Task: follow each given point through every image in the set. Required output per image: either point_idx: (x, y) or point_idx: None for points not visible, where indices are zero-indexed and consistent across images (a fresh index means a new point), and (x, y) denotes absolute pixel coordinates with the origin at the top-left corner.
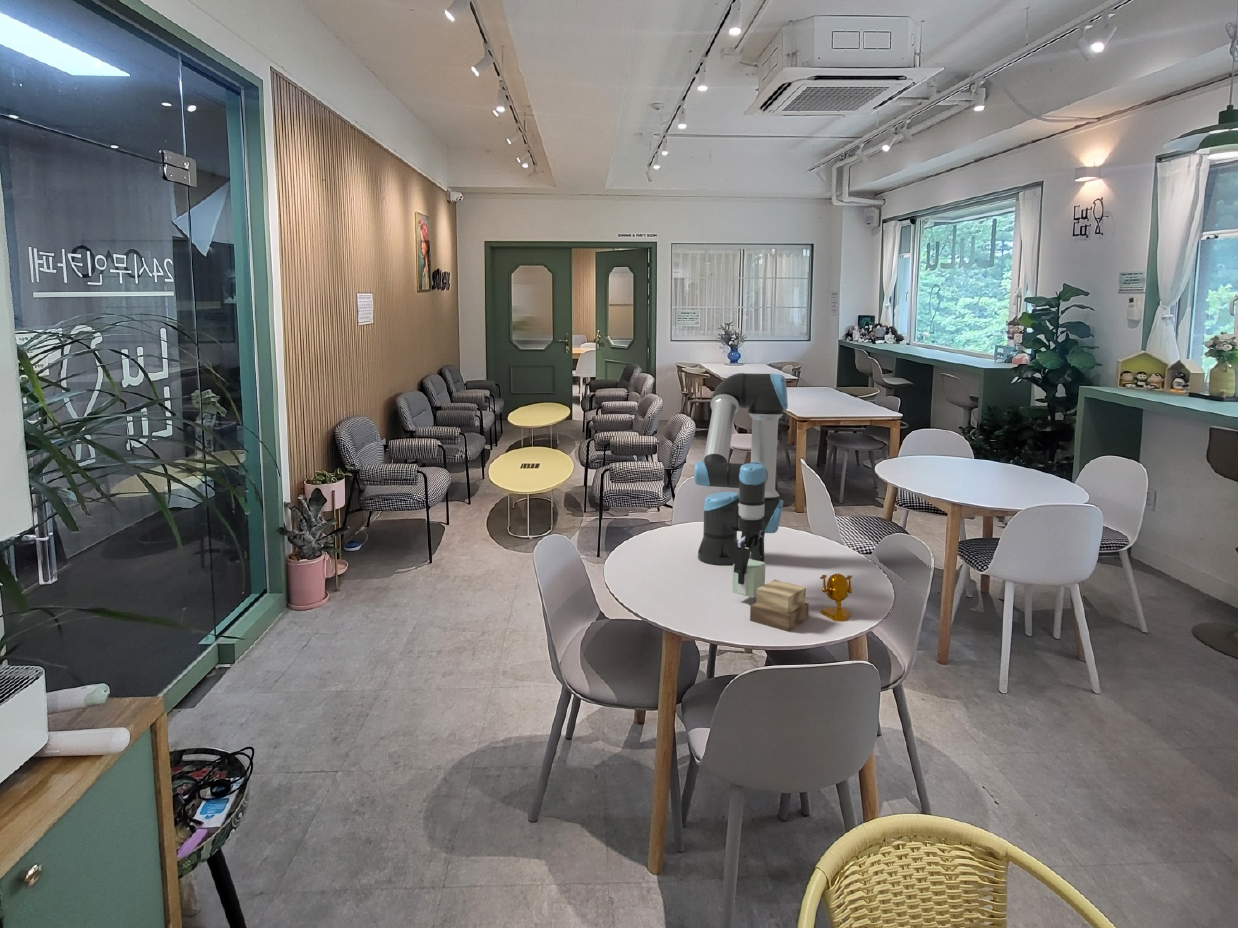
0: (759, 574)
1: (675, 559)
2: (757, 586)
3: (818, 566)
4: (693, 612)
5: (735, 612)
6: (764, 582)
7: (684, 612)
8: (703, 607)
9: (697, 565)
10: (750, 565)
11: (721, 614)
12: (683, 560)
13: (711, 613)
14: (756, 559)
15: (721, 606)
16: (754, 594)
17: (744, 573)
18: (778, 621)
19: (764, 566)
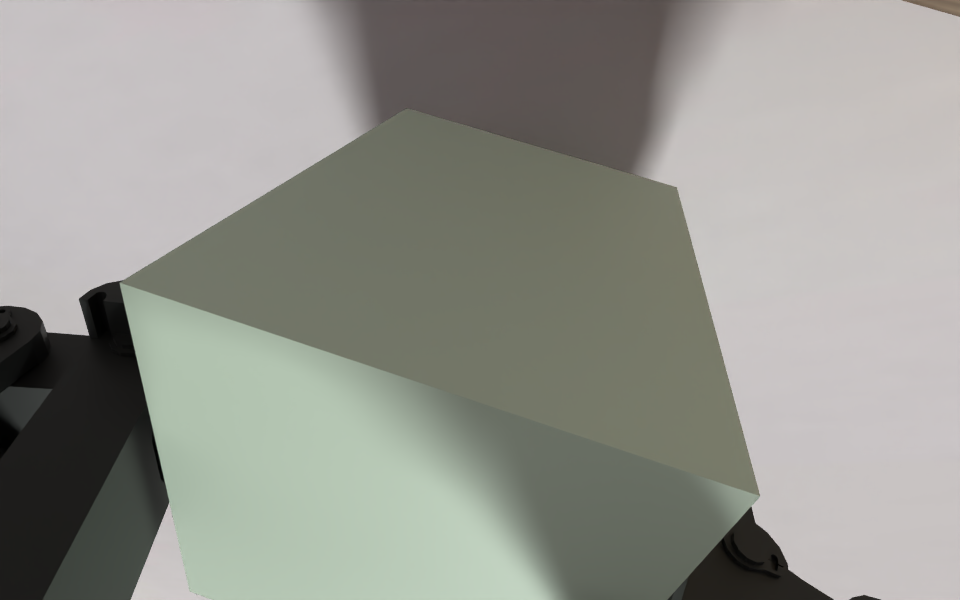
0: (487, 264)
1: (173, 579)
2: (571, 199)
3: None
4: (915, 541)
5: (880, 280)
6: (370, 137)
7: (920, 581)
8: (787, 492)
9: (164, 518)
10: (506, 549)
11: (953, 380)
12: (159, 558)
13: (929, 445)
14: (140, 473)
15: (735, 394)
16: (646, 189)
17: (756, 538)
18: None
19: (233, 254)
